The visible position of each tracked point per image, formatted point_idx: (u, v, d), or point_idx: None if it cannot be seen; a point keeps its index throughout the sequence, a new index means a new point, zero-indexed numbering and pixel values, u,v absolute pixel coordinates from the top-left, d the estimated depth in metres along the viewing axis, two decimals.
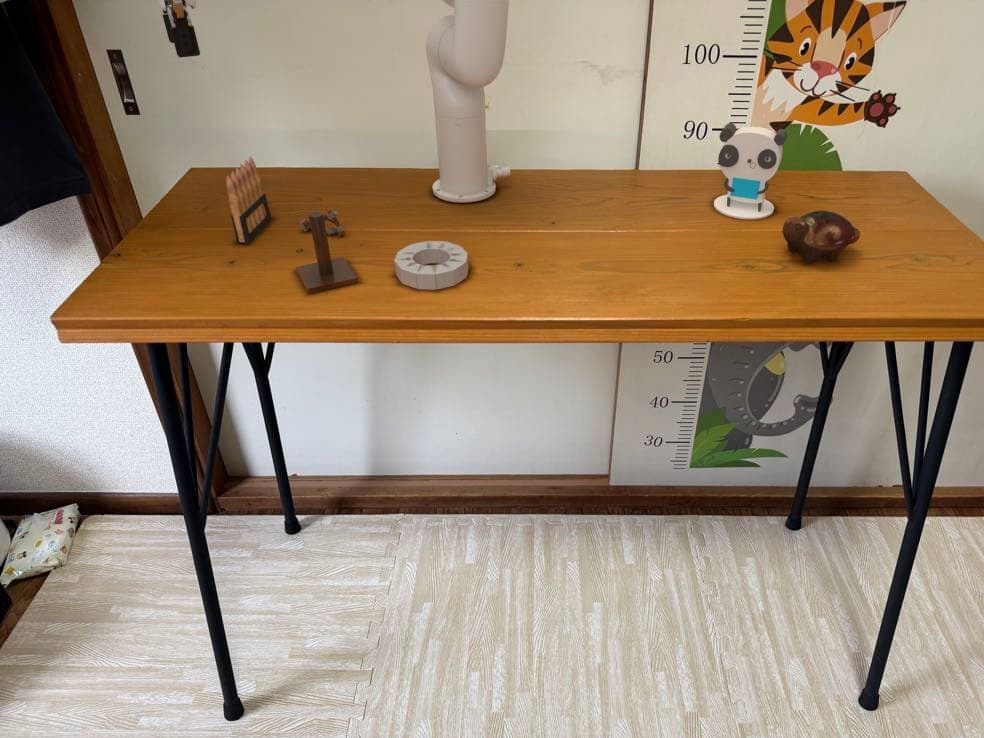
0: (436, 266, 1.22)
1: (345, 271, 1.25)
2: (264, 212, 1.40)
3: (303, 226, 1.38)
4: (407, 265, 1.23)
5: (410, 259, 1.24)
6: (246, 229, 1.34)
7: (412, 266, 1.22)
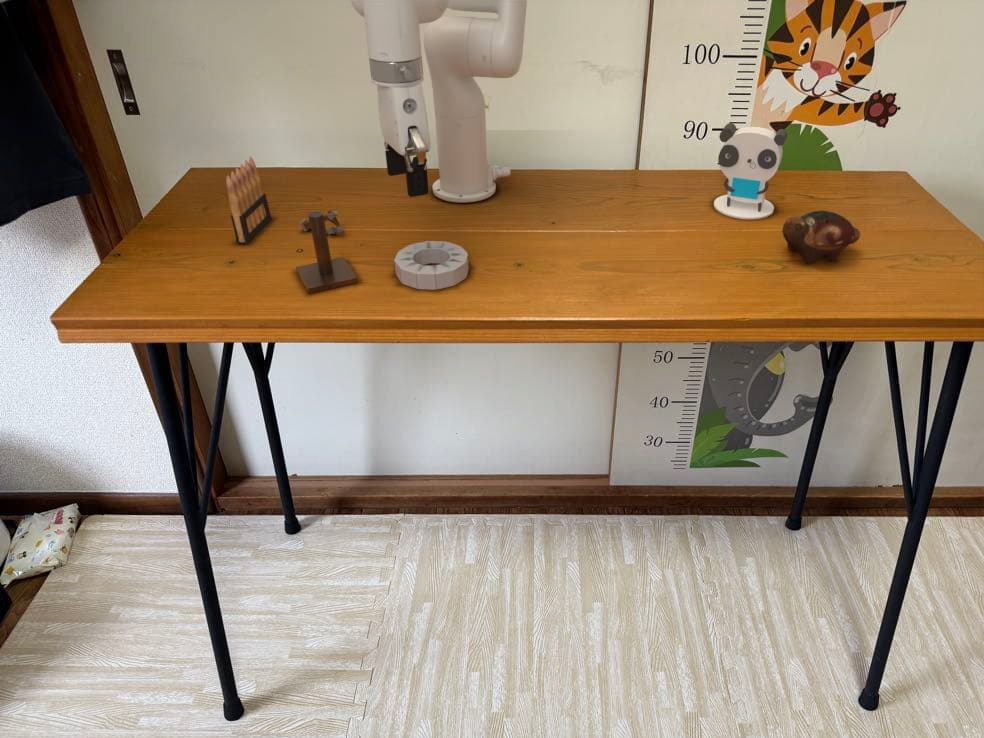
0: (436, 266, 1.22)
1: (345, 271, 1.25)
2: (264, 212, 1.40)
3: (303, 226, 1.38)
4: (407, 265, 1.23)
5: (410, 259, 1.24)
6: (246, 229, 1.34)
7: (412, 266, 1.22)
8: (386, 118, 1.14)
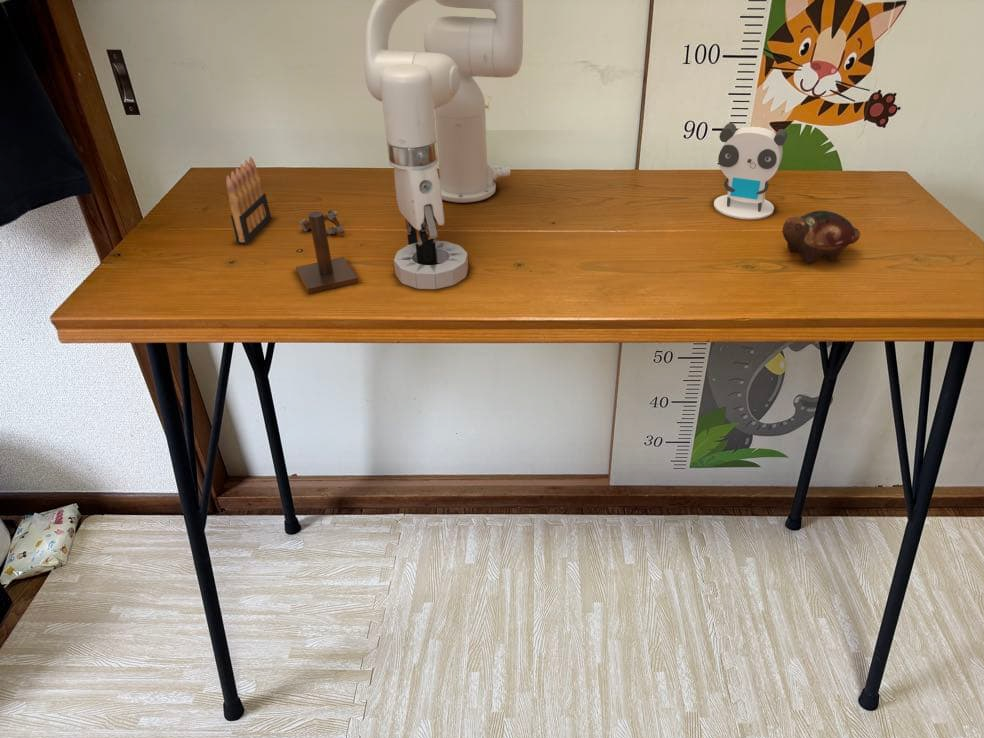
0: (435, 266, 1.22)
1: (345, 271, 1.25)
2: (264, 212, 1.40)
3: (303, 226, 1.38)
4: (407, 264, 1.23)
5: (409, 259, 1.24)
6: (246, 229, 1.34)
7: (411, 266, 1.22)
8: (403, 195, 1.21)
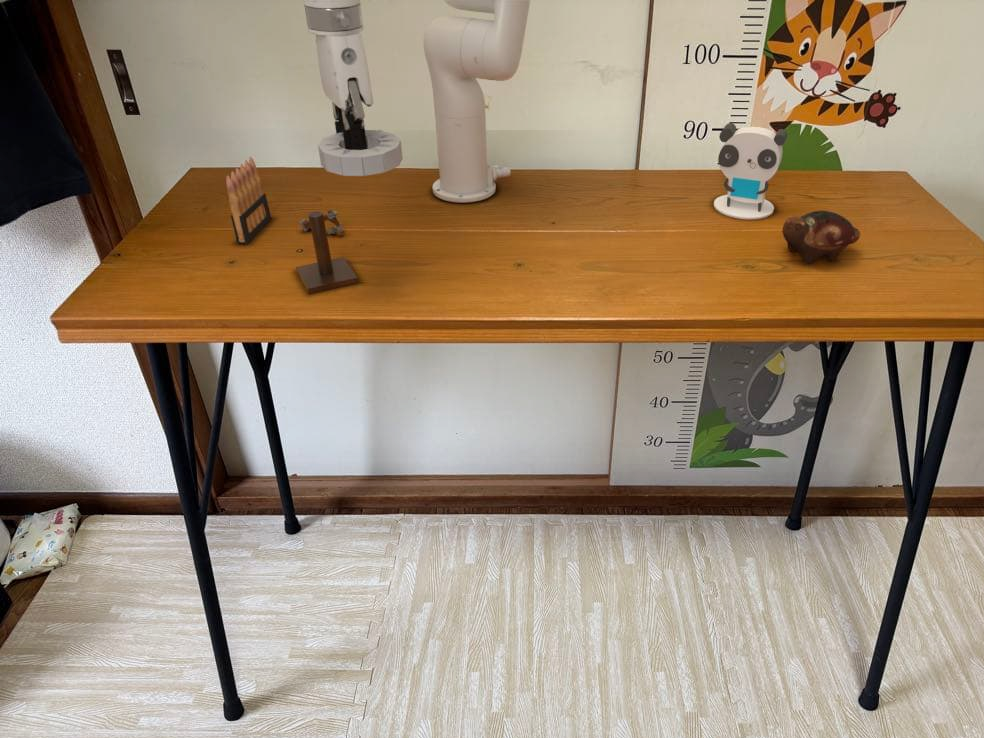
0: (364, 150, 1.10)
1: (345, 271, 1.25)
2: (264, 212, 1.40)
3: (303, 226, 1.38)
4: (332, 149, 1.10)
5: (335, 144, 1.12)
6: (246, 229, 1.34)
7: (336, 151, 1.10)
8: (325, 70, 1.08)
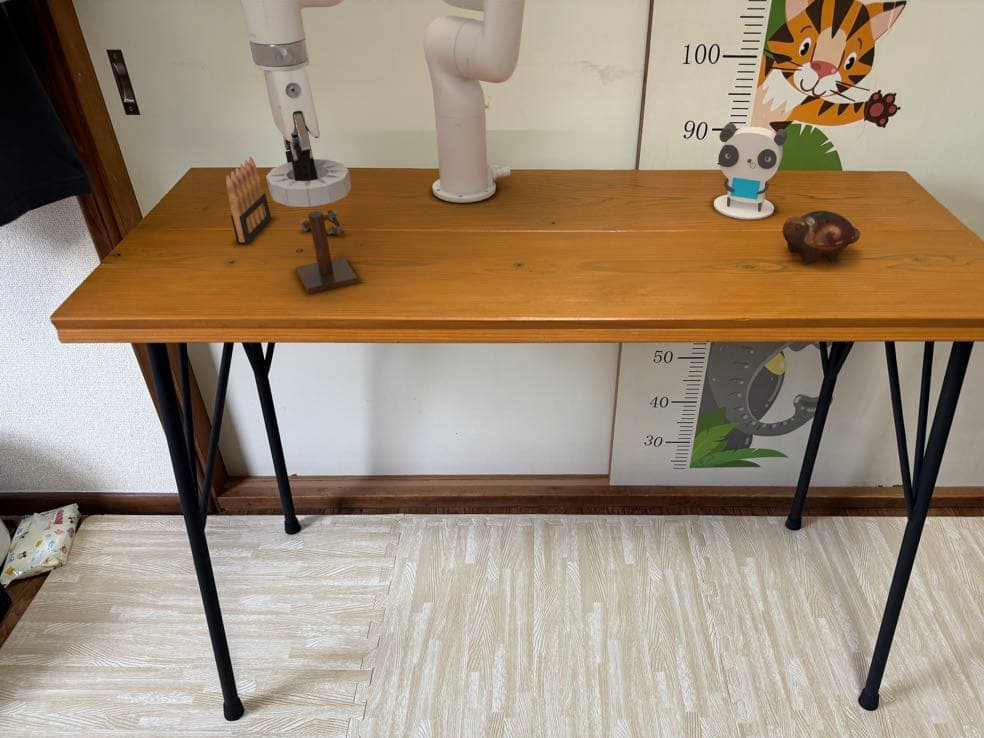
0: (310, 181, 1.12)
1: (345, 271, 1.25)
2: (264, 212, 1.40)
3: (303, 226, 1.38)
4: (279, 180, 1.12)
5: (284, 175, 1.14)
6: (246, 229, 1.34)
7: (283, 182, 1.12)
8: (272, 103, 1.10)
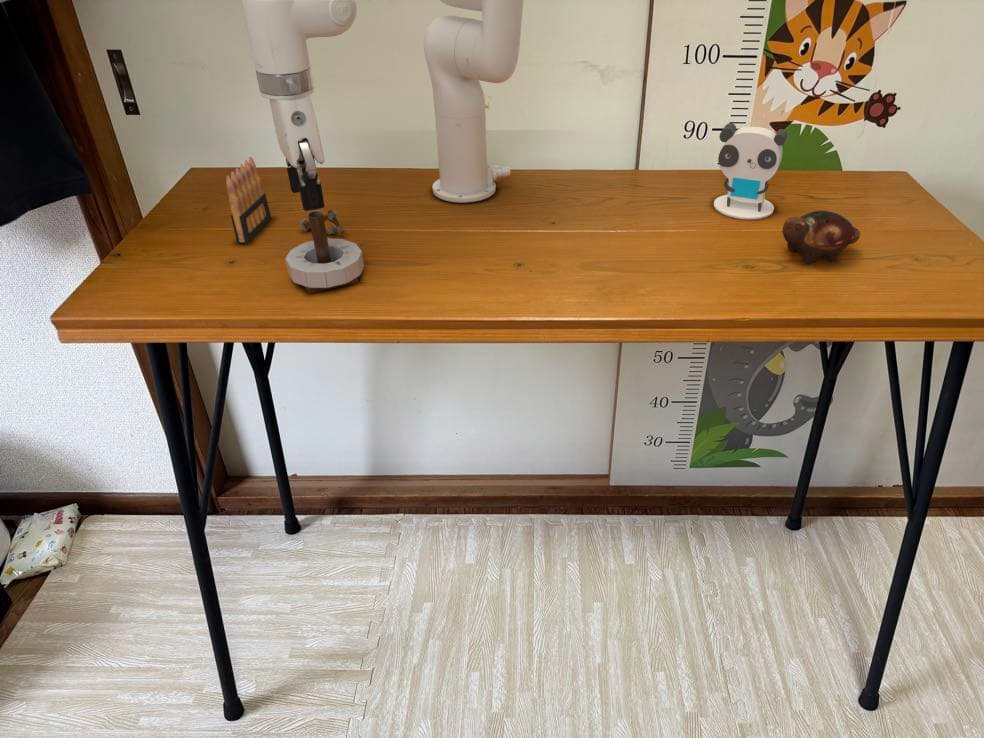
0: (327, 264, 1.21)
1: None
2: (264, 212, 1.40)
3: (303, 226, 1.38)
4: (298, 263, 1.21)
5: (302, 257, 1.22)
6: (246, 229, 1.34)
7: (302, 264, 1.20)
8: (278, 130, 1.13)
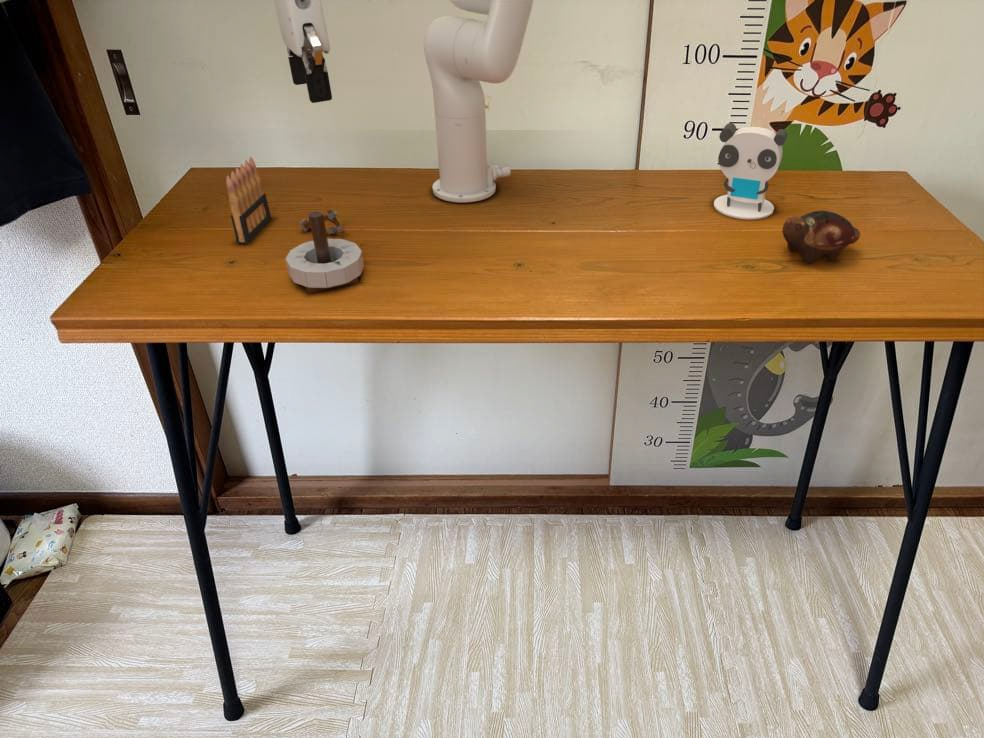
0: (327, 264, 1.21)
1: None
2: (264, 212, 1.40)
3: (303, 226, 1.38)
4: (298, 263, 1.21)
5: (302, 257, 1.22)
6: (246, 229, 1.34)
7: (302, 264, 1.20)
8: (281, 17, 1.08)
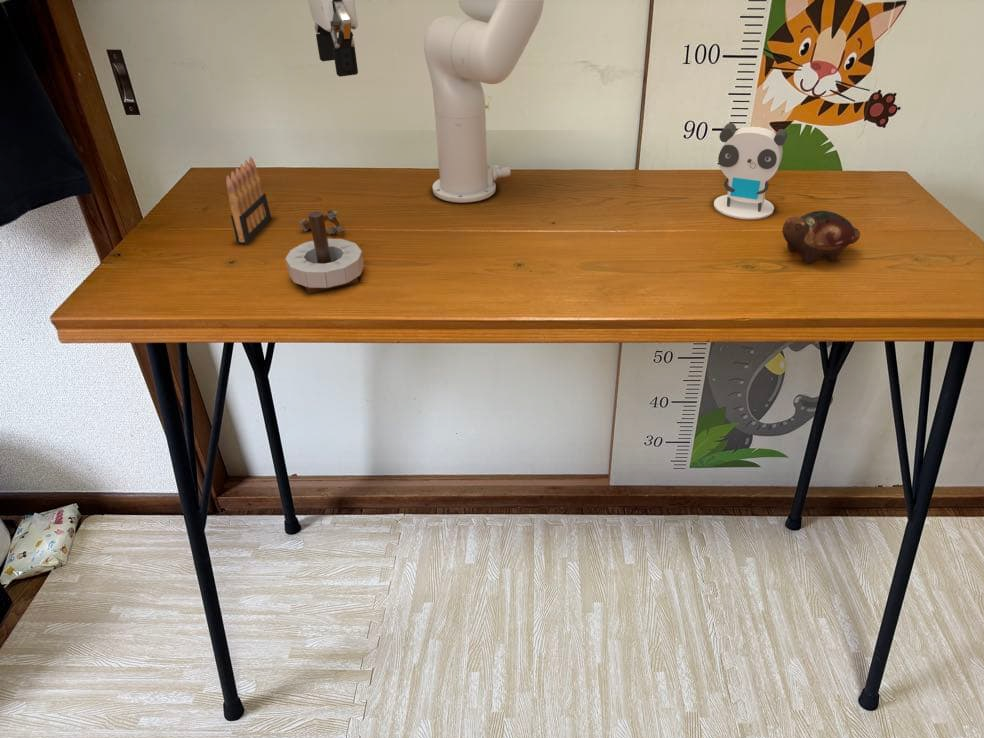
0: (327, 264, 1.21)
1: None
2: (264, 212, 1.40)
3: (303, 226, 1.38)
4: (298, 263, 1.21)
5: (302, 257, 1.22)
6: (246, 229, 1.34)
7: (302, 264, 1.20)
8: None
